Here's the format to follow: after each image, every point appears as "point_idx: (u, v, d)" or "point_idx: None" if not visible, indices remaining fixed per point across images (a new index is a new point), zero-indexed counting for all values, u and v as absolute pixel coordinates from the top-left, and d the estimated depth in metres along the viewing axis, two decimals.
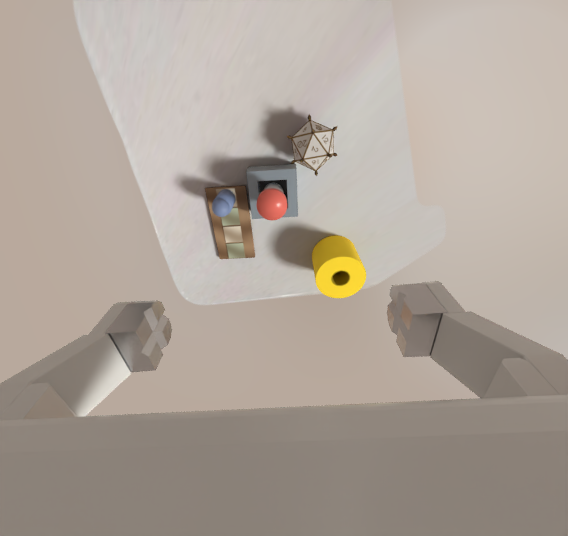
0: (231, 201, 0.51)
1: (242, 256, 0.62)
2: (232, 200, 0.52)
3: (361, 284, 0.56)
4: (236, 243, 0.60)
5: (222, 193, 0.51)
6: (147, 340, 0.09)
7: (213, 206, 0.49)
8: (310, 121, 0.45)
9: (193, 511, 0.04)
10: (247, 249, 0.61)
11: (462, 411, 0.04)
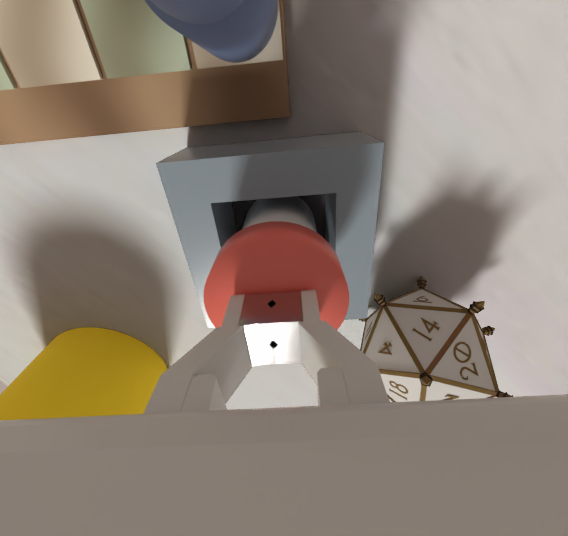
0: (236, 40, 0.08)
1: None
2: (237, 47, 0.09)
3: None
4: None
5: None
6: None
7: None
8: (483, 339, 0.17)
9: (193, 511, 0.04)
10: None
11: (462, 411, 0.04)
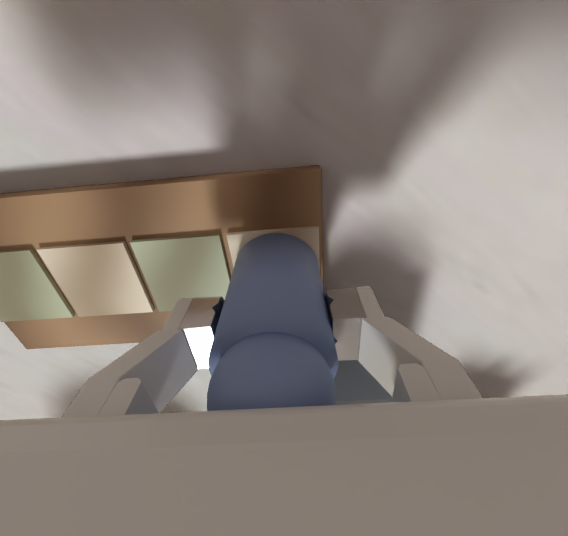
0: None
1: (2, 314, 0.13)
2: None
3: None
4: (57, 292, 0.13)
5: None
6: None
7: (302, 406, 0.06)
8: None
9: (192, 511, 0.04)
10: (48, 327, 0.14)
11: (463, 411, 0.04)
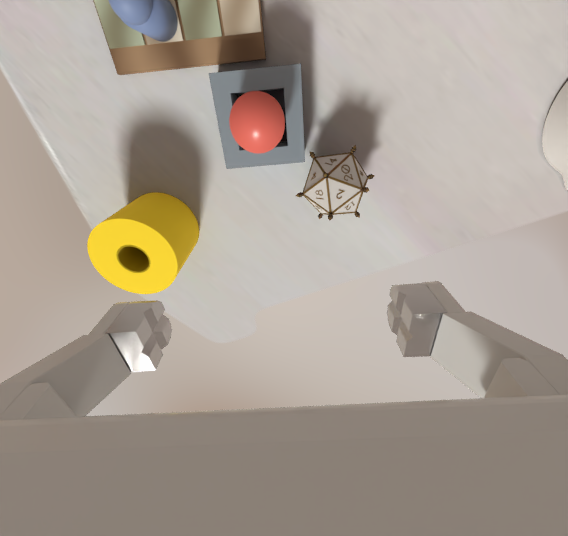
0: (150, 31, 0.24)
1: (111, 42, 0.28)
2: (154, 34, 0.25)
3: (132, 290, 0.34)
4: None
5: (166, 10, 0.24)
6: (147, 340, 0.09)
7: None
8: (367, 179, 0.32)
9: (193, 511, 0.04)
10: (130, 55, 0.29)
11: (462, 411, 0.04)
